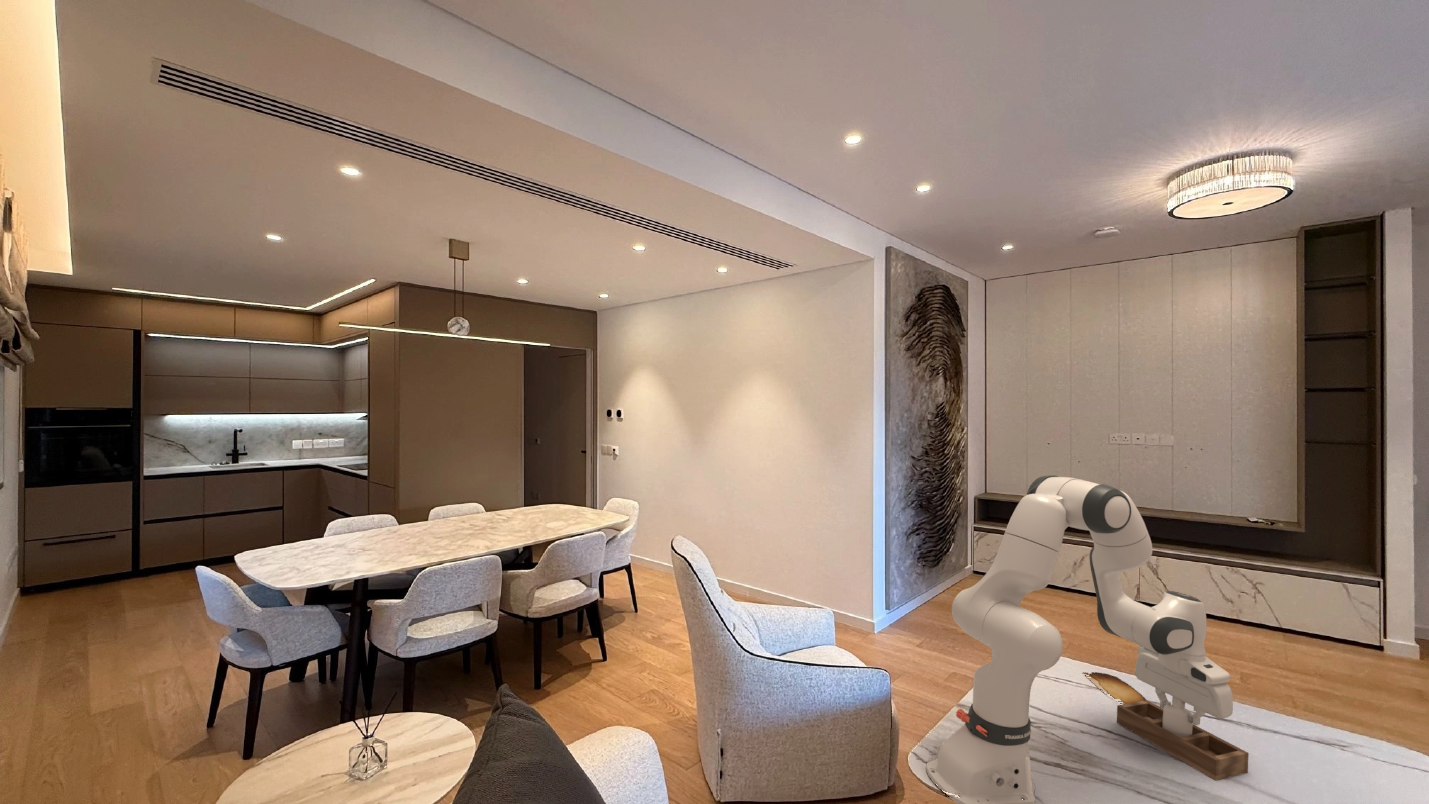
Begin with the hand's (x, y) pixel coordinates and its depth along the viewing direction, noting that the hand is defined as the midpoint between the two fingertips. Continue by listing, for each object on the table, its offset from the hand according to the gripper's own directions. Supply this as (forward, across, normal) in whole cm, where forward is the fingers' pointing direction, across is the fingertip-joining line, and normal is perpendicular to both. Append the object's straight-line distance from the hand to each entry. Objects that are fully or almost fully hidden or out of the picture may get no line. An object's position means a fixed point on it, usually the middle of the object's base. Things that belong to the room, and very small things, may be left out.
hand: (1179, 715), depth 139 cm
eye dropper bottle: (+6, 0, -1) cm, 6 cm away
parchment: (+8, -22, +10) cm, 25 cm away
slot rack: (+7, 0, 0) cm, 7 cm away
